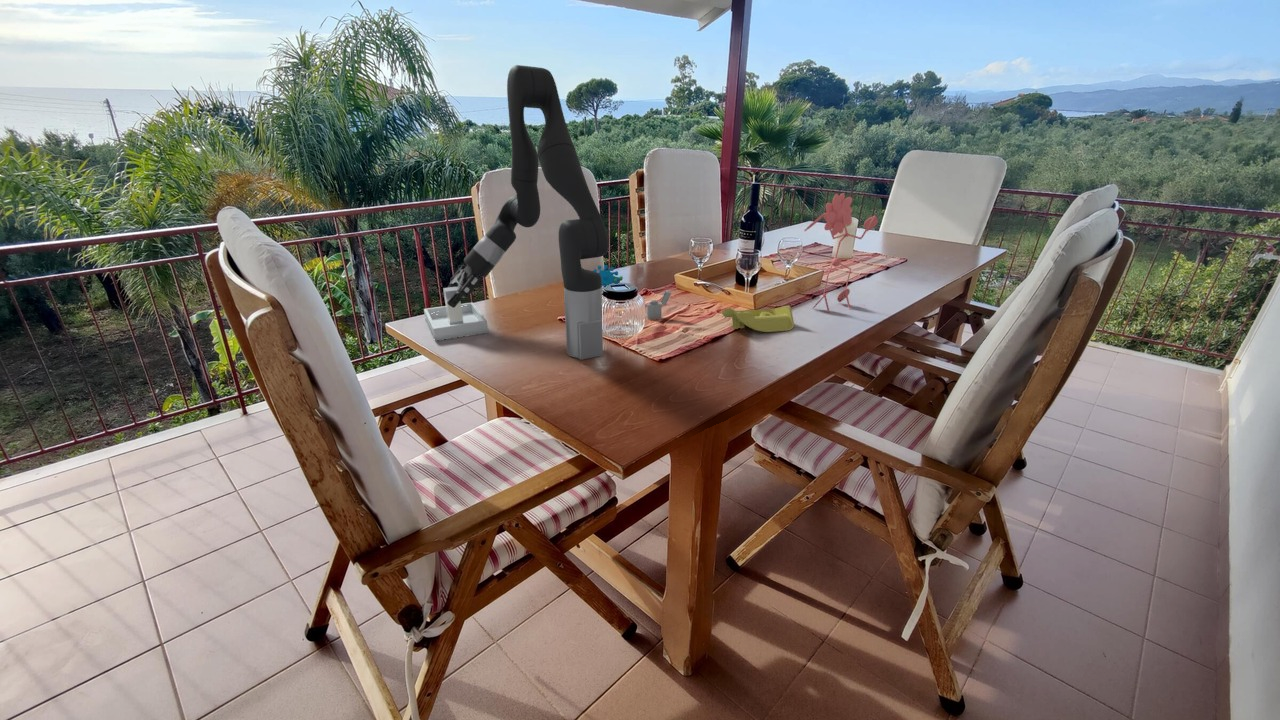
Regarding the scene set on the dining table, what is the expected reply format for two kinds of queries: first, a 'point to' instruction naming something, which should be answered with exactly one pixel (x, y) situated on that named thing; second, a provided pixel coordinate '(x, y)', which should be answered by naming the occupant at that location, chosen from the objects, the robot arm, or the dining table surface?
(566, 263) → the robot arm
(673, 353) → the dining table surface
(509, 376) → the dining table surface
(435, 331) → the parts tray
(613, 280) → the blue irregular piece
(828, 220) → the pink flower stick figure
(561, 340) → the dining table surface
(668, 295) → the lighter
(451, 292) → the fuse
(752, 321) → the plastic component
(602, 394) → the dining table surface
